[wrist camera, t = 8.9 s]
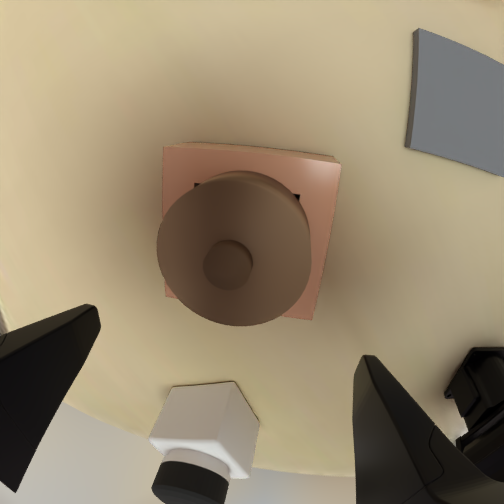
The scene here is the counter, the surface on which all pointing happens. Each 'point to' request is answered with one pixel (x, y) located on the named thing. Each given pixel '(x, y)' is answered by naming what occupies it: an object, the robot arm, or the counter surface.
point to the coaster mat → (456, 103)
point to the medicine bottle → (203, 443)
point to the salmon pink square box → (277, 167)
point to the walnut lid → (236, 249)
